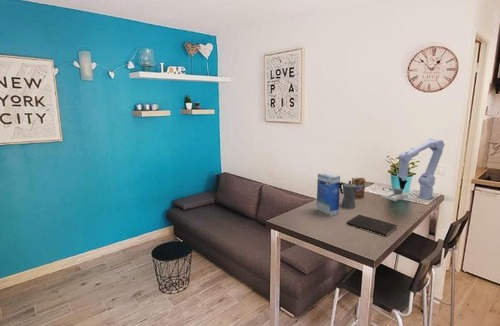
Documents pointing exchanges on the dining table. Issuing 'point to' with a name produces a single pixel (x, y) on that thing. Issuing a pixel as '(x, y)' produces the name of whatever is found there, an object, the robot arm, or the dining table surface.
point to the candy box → (359, 187)
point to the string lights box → (328, 193)
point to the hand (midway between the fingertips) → (401, 187)
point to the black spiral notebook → (372, 224)
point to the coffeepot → (348, 194)
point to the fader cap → (398, 190)
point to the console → (394, 196)
